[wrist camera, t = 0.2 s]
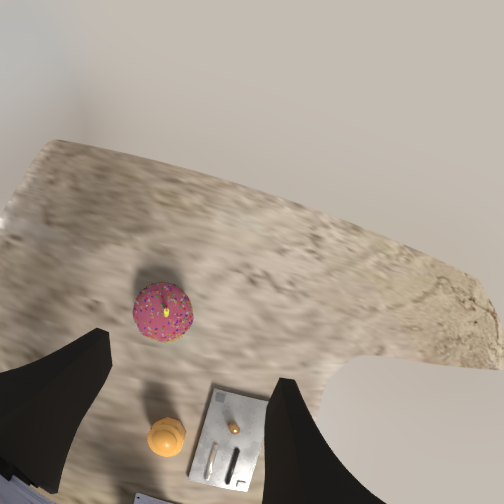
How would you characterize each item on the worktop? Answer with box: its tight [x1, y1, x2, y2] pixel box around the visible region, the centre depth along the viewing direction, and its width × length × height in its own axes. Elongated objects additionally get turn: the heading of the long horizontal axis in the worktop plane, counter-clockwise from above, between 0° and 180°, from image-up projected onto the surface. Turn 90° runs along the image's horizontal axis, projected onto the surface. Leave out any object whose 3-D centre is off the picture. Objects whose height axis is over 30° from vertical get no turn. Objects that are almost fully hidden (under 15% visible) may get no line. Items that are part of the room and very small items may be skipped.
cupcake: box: [133, 282, 193, 342], centre depth 35 cm, size 9×8×12 cm
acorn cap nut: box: [147, 417, 186, 457], centre depth 30 cm, size 5×5×7 cm
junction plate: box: [188, 388, 269, 492], centre depth 32 cm, size 16×9×4 cm, turn 165°
